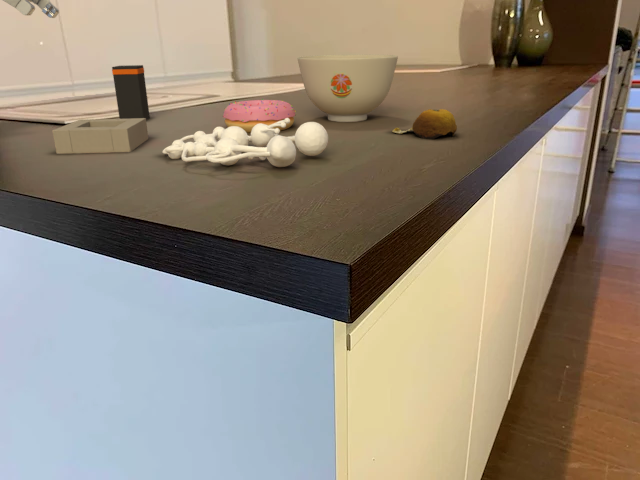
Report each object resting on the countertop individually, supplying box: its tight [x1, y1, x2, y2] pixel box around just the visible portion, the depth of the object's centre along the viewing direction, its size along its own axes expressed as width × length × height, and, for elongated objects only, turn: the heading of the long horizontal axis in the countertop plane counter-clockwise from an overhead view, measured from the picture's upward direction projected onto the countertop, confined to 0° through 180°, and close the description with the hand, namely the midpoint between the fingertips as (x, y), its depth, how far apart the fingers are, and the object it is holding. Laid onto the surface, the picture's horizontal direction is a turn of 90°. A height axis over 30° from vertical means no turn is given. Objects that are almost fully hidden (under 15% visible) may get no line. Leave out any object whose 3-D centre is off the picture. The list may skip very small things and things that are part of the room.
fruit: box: [391, 108, 458, 140], centre depth 74 cm, size 8×8×4 cm
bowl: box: [297, 54, 399, 123], centre depth 88 cm, size 16×16×10 cm
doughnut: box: [222, 98, 297, 134], centre depth 81 cm, size 11×11×4 cm
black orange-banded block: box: [111, 64, 151, 121], centre depth 91 cm, size 4×4×9 cm
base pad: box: [52, 118, 149, 155], centre depth 70 cm, size 9×9×3 cm
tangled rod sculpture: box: [161, 118, 329, 168], centre depth 61 cm, size 19×14×4 cm
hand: (44, 13), depth 86 cm, fingers open, 8 cm apart
